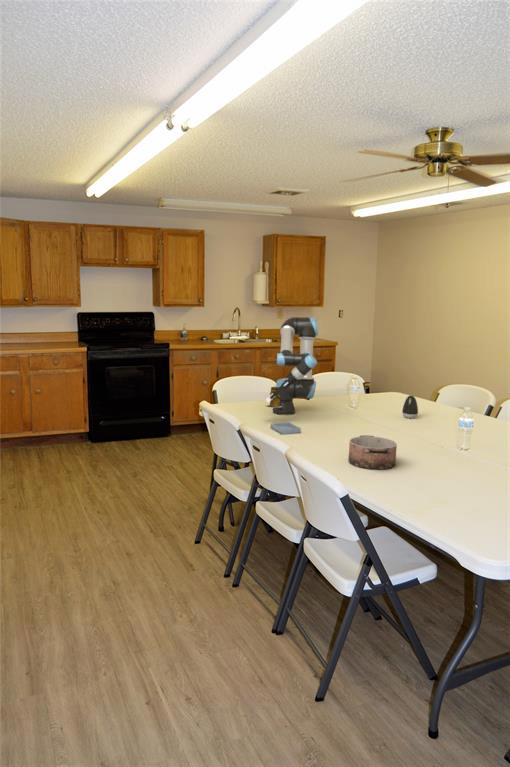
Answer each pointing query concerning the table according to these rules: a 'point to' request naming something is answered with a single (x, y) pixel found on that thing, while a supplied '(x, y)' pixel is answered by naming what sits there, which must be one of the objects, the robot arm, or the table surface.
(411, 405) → the black bullet-shaped dome
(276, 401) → the condiment
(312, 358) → the robot arm
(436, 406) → the table surface
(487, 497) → the table surface
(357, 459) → the cooking pot
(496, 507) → the table surface
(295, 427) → the tray
